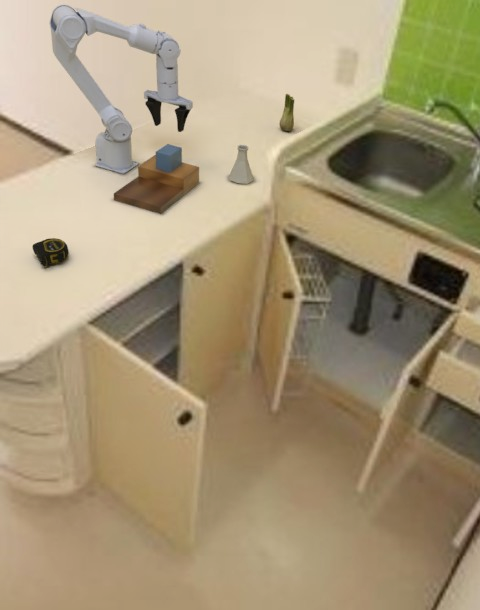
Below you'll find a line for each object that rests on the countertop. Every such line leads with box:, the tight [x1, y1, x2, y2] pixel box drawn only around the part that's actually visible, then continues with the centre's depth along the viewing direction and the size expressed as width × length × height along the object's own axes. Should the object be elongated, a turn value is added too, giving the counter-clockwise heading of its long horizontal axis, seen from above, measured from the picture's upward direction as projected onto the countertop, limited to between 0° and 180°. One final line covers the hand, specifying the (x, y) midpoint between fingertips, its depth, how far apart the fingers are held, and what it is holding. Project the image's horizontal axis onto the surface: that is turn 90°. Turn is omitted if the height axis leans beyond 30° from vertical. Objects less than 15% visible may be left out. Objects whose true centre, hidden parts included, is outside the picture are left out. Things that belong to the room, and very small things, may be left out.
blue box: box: [155, 143, 183, 173], centre depth 177 cm, size 4×6×5 cm
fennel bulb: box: [279, 93, 295, 132], centre depth 219 cm, size 6×5×12 cm
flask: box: [228, 144, 254, 185], centre depth 186 cm, size 7×7×10 cm
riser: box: [113, 154, 200, 215], centre depth 175 cm, size 14×21×5 cm, turn 161°
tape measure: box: [32, 237, 70, 267], centre depth 144 cm, size 7×7×4 cm
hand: (169, 127), depth 186 cm, fingers open, 7 cm apart
